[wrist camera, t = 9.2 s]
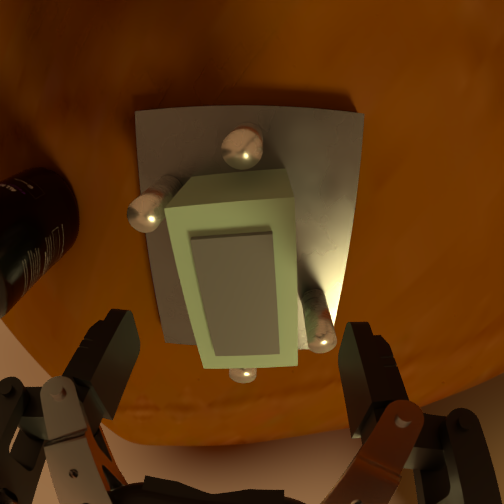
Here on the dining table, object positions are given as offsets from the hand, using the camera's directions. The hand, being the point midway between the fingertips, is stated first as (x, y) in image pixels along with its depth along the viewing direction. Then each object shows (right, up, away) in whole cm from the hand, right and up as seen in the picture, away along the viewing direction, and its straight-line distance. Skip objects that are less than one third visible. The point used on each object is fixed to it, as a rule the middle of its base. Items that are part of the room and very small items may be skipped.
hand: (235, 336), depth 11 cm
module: (0, +3, +7) cm, 8 cm away
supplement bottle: (-14, +6, +8) cm, 17 cm away
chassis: (0, +4, +8) cm, 9 cm away
